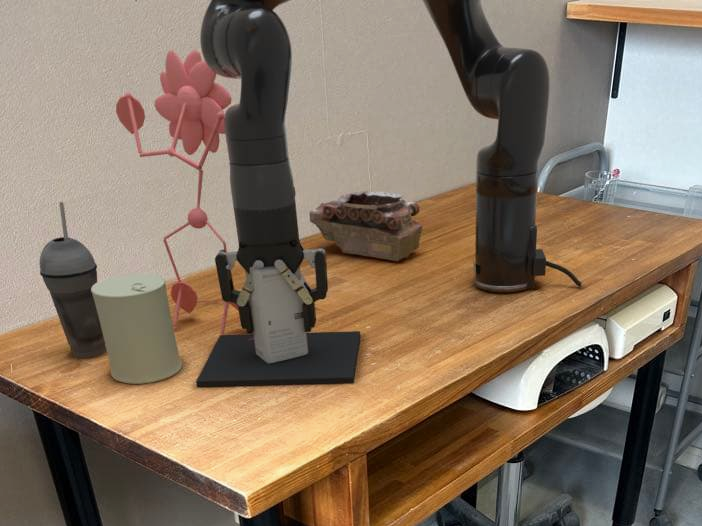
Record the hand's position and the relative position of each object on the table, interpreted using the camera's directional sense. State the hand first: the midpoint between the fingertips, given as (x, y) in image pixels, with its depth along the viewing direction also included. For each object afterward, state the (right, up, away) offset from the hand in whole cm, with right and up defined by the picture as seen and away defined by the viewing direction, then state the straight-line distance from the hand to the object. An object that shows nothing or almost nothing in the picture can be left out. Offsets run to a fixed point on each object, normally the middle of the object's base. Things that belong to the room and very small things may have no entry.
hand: (279, 330), depth 113 cm
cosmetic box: (0, -3, +2) cm, 4 cm away
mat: (0, -3, +2) cm, 4 cm away
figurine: (-10, +6, +16) cm, 19 cm away
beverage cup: (-28, -1, +7) cm, 29 cm away
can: (-18, -5, +1) cm, 19 cm away
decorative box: (+9, +24, +42) cm, 49 cm away
